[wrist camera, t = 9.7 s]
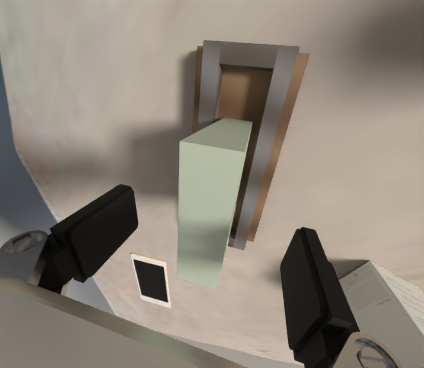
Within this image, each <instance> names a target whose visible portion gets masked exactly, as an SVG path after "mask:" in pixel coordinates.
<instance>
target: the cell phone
mask: <svg viewBox="0 0 424 368" xmlns="http://www.w3.org/2000/svg"><path fill="white" fill-rule="evenodd" d="M131 259H132V264H133V268H134V272H135V276H136V280H137V284H138V288H139V292H140V296H141V299H142V300H145V301H148V302H152V303H155V304H158V305H162V306H165V307H168V308H170V307H171V305H170V296H169V287H168V278H167V269H166V262H165V261H162V260H158V259H154V258H151V257H147V256H143V255H139V254H135V253H131Z"/></svg>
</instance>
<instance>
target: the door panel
mask: <svg viewBox="0 0 424 368" xmlns="http://www.w3.org/2000/svg"><path fill="white" fill-rule="evenodd" d="M252 123H253V122H252V121H245V120H238V119H231V118H223V119H221V120H219V121H217V122H215V123H213V124H211V125H210V126H208V127H206V128H204V129H202V130H200V131H198V132H196V133H194V134H192V135H190V136H188V137H186V138H185V139H183V140H181V141H180V144H179V202H178V259H177V278H179V279H182V280H186V281H189V282H192V283H195V284H198V285H202V286H205V287H208V288H211V289H214V290H217V289H218V284H219V279H220V275H221V270H222V266H223V261H224V256H225V252H226V247H227V245H228V240H229V235H230V231H231V226H232V221H233V217H234V212H235V207H236V201H237V196H238V191H239V186H240V182H241V177H242V172H243V167H244V162H245V157H246V152H247V147H248V143H249V138H250V133H251V128H252Z"/></svg>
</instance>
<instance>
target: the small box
mask: <svg viewBox="0 0 424 368" xmlns="http://www.w3.org/2000/svg"><path fill="white" fill-rule="evenodd" d="M339 282H340V284H341V287H342V289H343V291H344V294H345V296H346V299H347V301H348V303H349V306H350V308H351V310H352V312H353V315H354V317H355V319H356V321H357V323H358V325H359V328H360V330H361V332H362V333H366V334H368V335H370V336H372V337H374V338H376V339H377V340H378V341H380V342H381V343H382V344H384V345H385V346H386V347H387V348H388V349H389V350H390V351H391V352H392V353H393V354H394V356H395V357H396V358H397V359H398V361H399V362H400V363H401V365H402V367H403V368H424V293H423V292H422V290H421V289H419V288H417V287H416V286H414V285H412V284H410V283H409V282H407V281H405V280H403V279H401V278H400V277H398V276H396V275H394V274H392V273H391V272H389V271H387V270H385V269H384V268H382V267H380V266H378V265H376V264H375V263H373V262H371V261H368V262H367V263H365V264H364V265H362V266H360V267H359V268H357V269H356V270H354V271H352V272H351V273H349V274H348V275H346V276H344V277H343V278H341V279H339Z"/></svg>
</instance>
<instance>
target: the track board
mask: <svg viewBox="0 0 424 368" xmlns="http://www.w3.org/2000/svg"><path fill="white" fill-rule="evenodd" d="M298 51H299V47H297V46H282V45H267V44H252V43H237V42H222V41H208V40H204V42H203V46H197V62H196V81H195V100H194V119H193V134H194V133H196V132H198V131H200V130H202V129H204V128H206V127H208V126H210V125H211V124H213V123H215V122H217V121H219V120H221V119H223V118H231V119H238V120H245V121H252V122H253V123H252V128H251V133H250V138H249V143H248V147H247V152H246V157H245V162H244V167H243V172H242V177H241V182H240V186H239V191H238V196H237V201H236V207H235V212H234V217H233V221H232V226H231V231H230V235H229V240H228V245H227V246H230V247H234V248H237V249H241V250H244V248H245V244H246V241H247V240H248V241H252V242H253V241H254V237H255V234H256V231H257V227H258V224H259V221H260V217H261V214H262V211H263V207H264V204H265V201H266V197H267V194H268V191H269V187H270V184H271V181H272V177H273V174H274V171H275V167H276V164H277V161H278V157H279V154H280V151H281V147H282V144H283V141H284V137H285V134H286V131H287V128H288V124H289V121H290V118H291V114H292V111H293V108H294V104H295V101H296V98H297V94H298V91H299V88H300V84H301V81H302V78H303V74H304V71H305V68H306V64H307V61H308V58H309V54H301V53H298Z"/></svg>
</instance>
